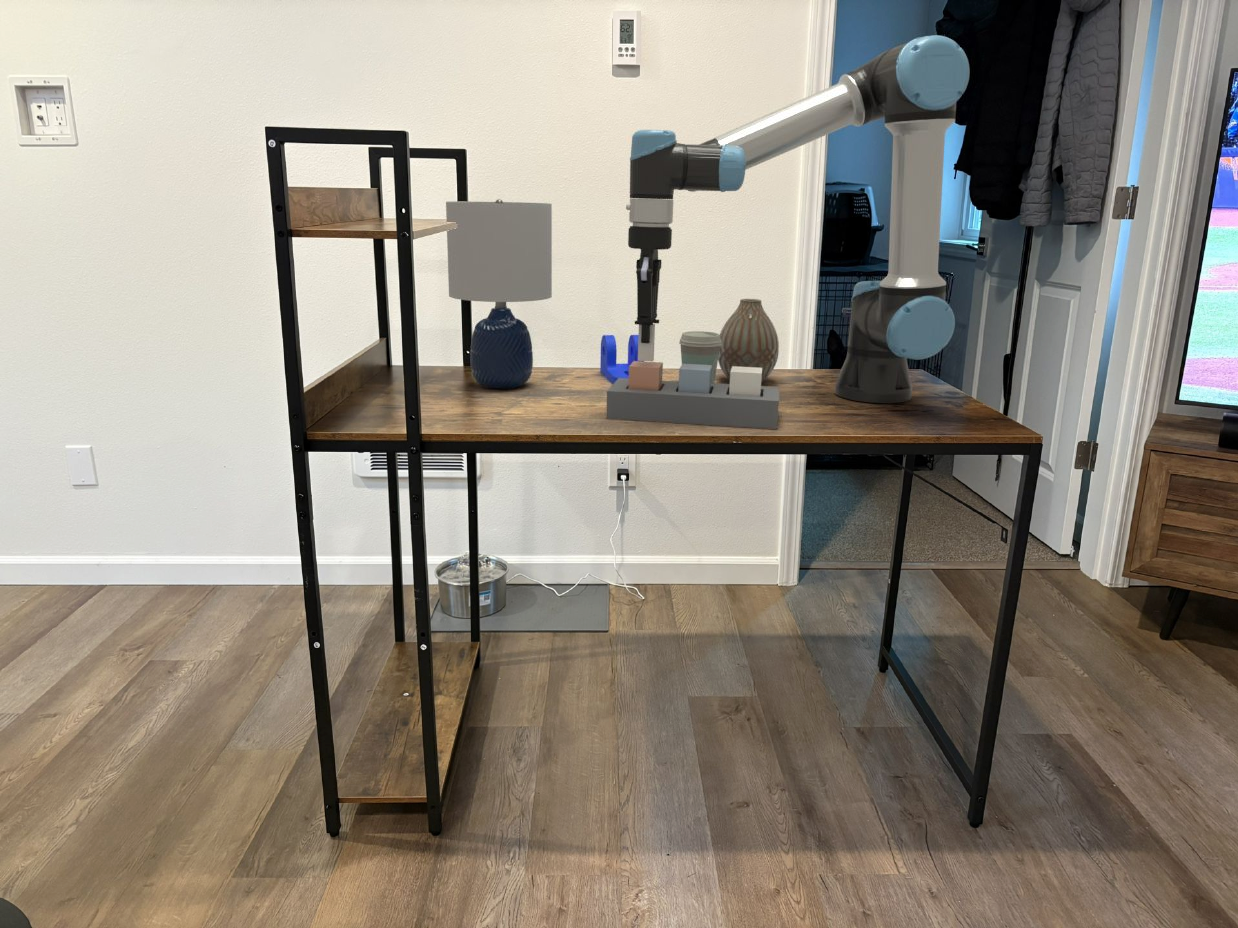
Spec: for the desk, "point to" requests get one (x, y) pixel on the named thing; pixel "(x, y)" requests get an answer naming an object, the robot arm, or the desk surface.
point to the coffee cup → (701, 349)
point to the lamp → (500, 280)
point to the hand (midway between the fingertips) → (645, 360)
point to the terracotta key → (645, 375)
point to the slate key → (695, 378)
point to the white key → (745, 381)
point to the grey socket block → (693, 405)
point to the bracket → (609, 358)
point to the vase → (749, 339)
